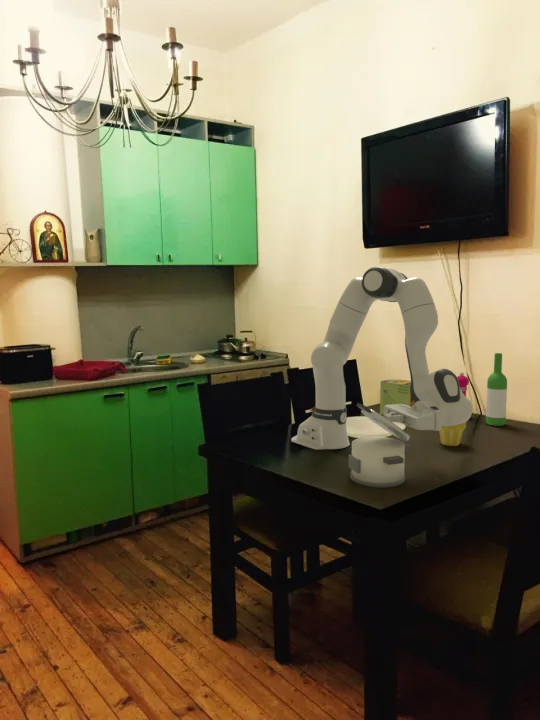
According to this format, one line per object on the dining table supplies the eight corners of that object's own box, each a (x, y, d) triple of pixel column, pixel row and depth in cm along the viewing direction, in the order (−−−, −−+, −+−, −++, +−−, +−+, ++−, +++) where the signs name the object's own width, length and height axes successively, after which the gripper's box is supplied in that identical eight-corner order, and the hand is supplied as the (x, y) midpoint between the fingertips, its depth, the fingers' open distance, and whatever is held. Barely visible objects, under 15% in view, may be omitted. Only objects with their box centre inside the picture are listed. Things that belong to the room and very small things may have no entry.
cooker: (387, 464, 191) (388, 432, 190) (424, 485, 171) (424, 449, 170) (337, 470, 186) (337, 437, 184) (369, 493, 166) (369, 456, 164)
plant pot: (467, 448, 209) (467, 421, 207) (437, 446, 211) (438, 420, 209) (463, 440, 219) (464, 415, 217) (435, 439, 221) (435, 414, 219)
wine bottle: (495, 427, 237) (498, 355, 233) (481, 423, 244) (484, 353, 240) (509, 425, 240) (512, 353, 236) (495, 421, 247) (498, 351, 243)
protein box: (409, 420, 252) (410, 385, 249) (379, 414, 262) (379, 381, 260) (421, 415, 259) (422, 381, 257) (391, 410, 270) (392, 378, 267)
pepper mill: (470, 415, 257) (472, 371, 255) (466, 419, 251) (468, 374, 249) (454, 414, 261) (455, 370, 259) (450, 417, 255) (451, 372, 253)
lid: (388, 433, 187) (391, 429, 187) (417, 447, 172) (419, 442, 172) (347, 402, 181) (350, 398, 181) (372, 413, 166) (375, 409, 166)
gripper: (406, 398, 190) (369, 401, 186) (444, 411, 171) (403, 415, 167) (406, 416, 191) (369, 420, 187) (443, 432, 172) (403, 436, 168)
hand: (385, 418), depth 177 cm, fingers closed
